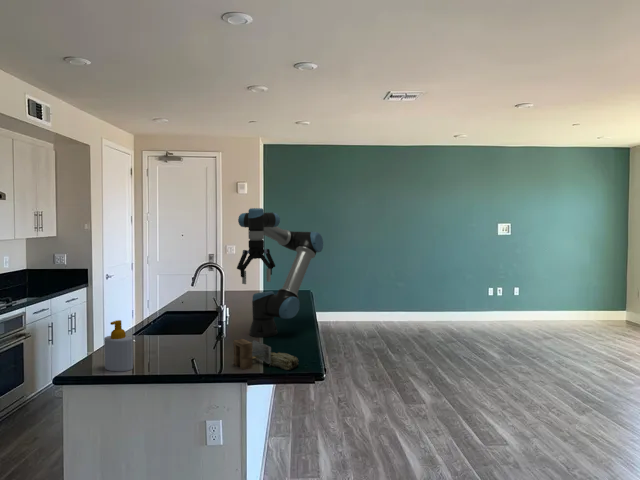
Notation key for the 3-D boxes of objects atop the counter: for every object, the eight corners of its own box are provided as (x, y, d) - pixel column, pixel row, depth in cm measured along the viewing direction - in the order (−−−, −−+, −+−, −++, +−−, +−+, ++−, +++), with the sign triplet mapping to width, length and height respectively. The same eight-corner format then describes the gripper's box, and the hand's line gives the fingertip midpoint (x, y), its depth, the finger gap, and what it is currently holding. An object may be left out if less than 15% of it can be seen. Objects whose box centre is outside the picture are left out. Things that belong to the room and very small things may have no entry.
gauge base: (254, 357, 208) (254, 334, 207) (268, 363, 198) (268, 339, 198) (230, 362, 200) (229, 338, 200) (242, 369, 191) (242, 344, 190)
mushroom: (263, 366, 196) (263, 353, 196) (279, 360, 203) (279, 348, 203) (288, 373, 187) (288, 360, 187) (303, 367, 194) (303, 354, 194)
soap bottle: (99, 369, 191) (98, 321, 190) (114, 363, 199) (113, 317, 198) (123, 373, 186) (122, 324, 186) (138, 367, 194) (137, 320, 193)
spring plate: (255, 355, 205) (255, 340, 205) (271, 363, 194) (271, 347, 194) (234, 359, 199) (234, 343, 199) (250, 368, 188) (249, 351, 188)
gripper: (274, 238, 234) (274, 279, 235) (229, 240, 219) (230, 284, 220) (281, 239, 228) (282, 281, 229) (236, 240, 213) (237, 285, 214)
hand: (256, 282), depth 224 cm, fingers open, 13 cm apart
